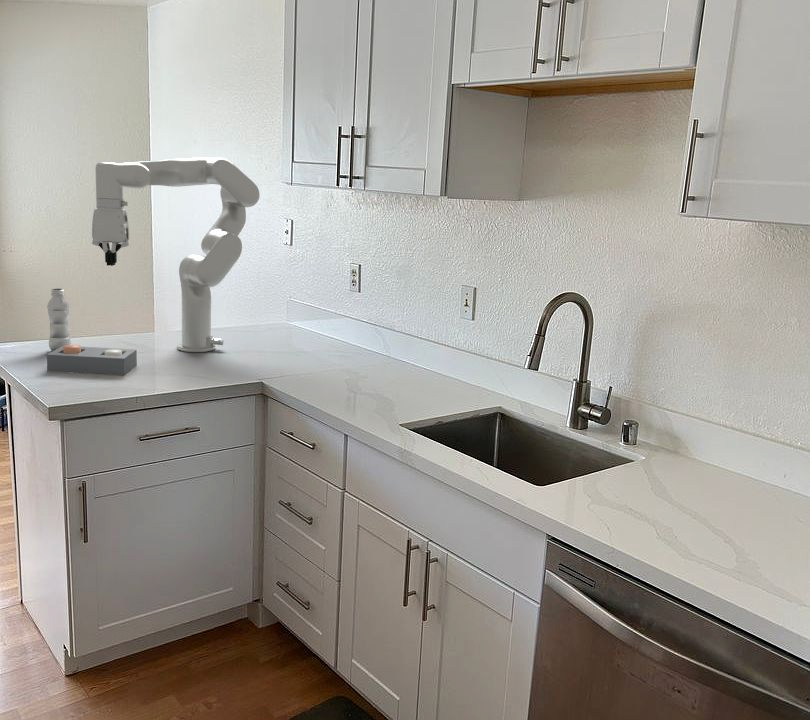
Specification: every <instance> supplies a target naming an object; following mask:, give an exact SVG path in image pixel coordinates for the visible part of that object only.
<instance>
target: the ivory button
mask: <svg viewBox="0 0 810 720" xmlns="http://www.w3.org/2000/svg"><path fill="white" fill-rule="evenodd" d="M105 355H113V356H121V355H122V351H121V350H106V351H105Z"/></svg>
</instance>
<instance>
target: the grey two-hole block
mask: <svg viewBox="0 0 810 720" xmlns="http://www.w3.org/2000/svg"><path fill="white" fill-rule="evenodd" d="M106 350H121V351H122V355H121V356H113V355H105V351H106ZM137 355H138V353H137V349H133V348H132V349H131V348H115V347H114V348H112V347H111V348H110V347H91V346H81V353H79V354H74V353H63V346H61V347H60V348H58V349H56V350H54V351H52V350H51V352H48V353H46V367H47V369H46V370H47V371H46V372H49V371H55V372H54V373H69V372H73V374H88V373H93V375H94V374H95V375H109V376H110V374H111V376H112V375H113V376H126V375H127V374H128V373H130V371H132V370H133V369H134V368H136V367H137V366H138V365H137V364H138V363H137V362H138V359H137V357H138V356H137ZM135 366H136V367H135Z"/></svg>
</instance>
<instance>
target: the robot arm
mask: <svg viewBox="0 0 810 720" xmlns="http://www.w3.org/2000/svg"><path fill="white" fill-rule="evenodd" d="M202 185H218V186H220V199H221V203H222V204H221V205H222V209H221V213H220V215H219V217H218V218H217V219H216V221H215V222H214V224H213V225H212V226H211V228H210V229H209V230H208V232H207V233H205V235H204V237H203V238H202V240H201V245H200V247H201V250H202V252H203V253H204V254H205V256H204V255H200V254H189V255H187V256H185V257H183V259H182V260H181V262H180V263H179V268H178V276H179V281H180V288H181V342H179V343H177V344H176V348H177V350H179V351H182V352H187V353H207V352H211V351H214V350H216V345H217V346H224V344H225V343H224V341H225V340H224V339H222V338H215V337H214V334H213V333H212V294H211V293H212V292H211V288H214V287H216V286H218V285H219V284H221V282H222V281H223V280H224V279H225V277H227V275H228V273H229V272H230V271H231V270H232V268H233V267H234V266H235V264H236V262H238V260H239V259H240V257H241V255H242V252H243V243H242V240H241V238H240V236H239V235H240V233H241V232H242V230H243V228H244V227H245V224H246V220H247V211H246V208H252V207H254V206H255V205H256V204H257V203H258V202H259V199H260V194H261V193H260V190H259V188H258V187H259V186H257V184H256V183H255V182H254V181H253V180H252V179H250V178H249V176H247V174H245V173H244V172H243V171H241V169H240V168H238V167H237V165H235V164H234V163H232V161H230V160H228V159H227V158H223V157H213V156H211V157H192V158H191V157H190V158H174V159H164V160H163V159H162V160H152V161H133V162H131V161H130V162H122V163H116V162H105V161H103V162H101V161H100V162H97V163H96V164H95V197H96V198H95V199H96V200H95V202H96V208H94V209H93V215H92V221H91V223H92V225H91V238H92V241H91V242H92V243H91V244H92V245H94V246H96V247H100V249H101V250H102V251H103V252H104V260H105V261H104V262H105V263H106V266H110V267H111V266H112V267H113V266H115V265H116V264H117V262H118V260H117V259H118V258H117V254H118V251H120V250H121V248H126V247H129V246H130V244H129V240H130V226H129V219H128V214H127V210H126V209H124V207H127V206H128V204H129V203H128V201H125V200H124V196H123V195H124V193H123V192H124V191H123V188H130V189H135V190H136V189H137V190H139V189H144V188H146V187H148V186H162V187H163V186H164V187H172V188H174V187H177V188H178V187H191V186H192V187H193V186H202ZM110 243H111V246H110Z"/></svg>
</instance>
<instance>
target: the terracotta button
mask: <svg viewBox="0 0 810 720" xmlns="http://www.w3.org/2000/svg"><path fill="white" fill-rule="evenodd" d="M81 347H82V346H81V345H79V344H71V345H65V346H63V353H74V354H79V353H81Z"/></svg>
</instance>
